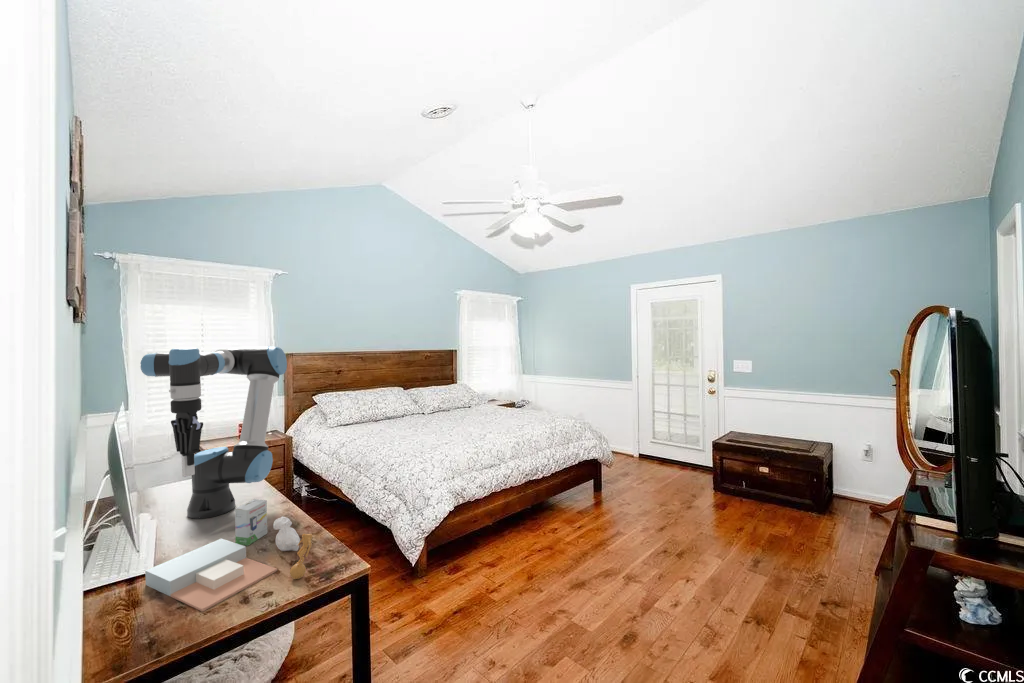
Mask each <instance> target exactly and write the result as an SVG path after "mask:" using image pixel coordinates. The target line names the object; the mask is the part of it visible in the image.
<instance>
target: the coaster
mask: <svg viewBox="0 0 1024 683" xmlns="http://www.w3.org/2000/svg"><path fill="white" fill-rule="evenodd" d="M243 574H244V566H243V565H241V564H238V563H235V562H232V561H230V560H227V559H225V560H223V561H221V562H219V563H217V564H214V565H212V566H210V567H208V568H206V569H204V570H202V571H199V572H197V573H196V582H197V583H199V584H201V585H204V586H206V587H209V588H211V589H213V590H214V589H216V588H218V587H220V586H222V585H224V584H226V583H228V582H230V581H232V580H234V579H236V578H238V577H240V576H241V575H243Z"/></svg>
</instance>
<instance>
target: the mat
mask: <svg viewBox="0 0 1024 683" xmlns="http://www.w3.org/2000/svg"><path fill="white" fill-rule="evenodd" d="M236 563H238V564H241V565H243V566H244V574H243V575H241V576H240V577H238V578H236V579H234V580H232V581H230V582H228V583H226V584H224V585H222V586H220V587H218V588H216V589H214V590H213V589H211V588H209V587H206V586H204V585H201V584H199V583H197V582H195V583H193V584H191V585H189V586H187V587H185V588H183V589H181V590H178V591H176V592H174V593H172V594H170V595H171V598H172V599H175V600H177V601H179V602H182V603H183V604H185V605H188V606H190V607H192V608H193V609H195V610H198V611H200V612H204V611H206V610H208V609H210V608H212V607H214V606H216V605H217V604H219V603H221V602H222V601H225V600H226V599H229V598H230V597H232V596H235V595H236V594H237V593H239V592H241V591H243V590H245V589H247V588H249V587H250V586H252V585H255V584H256V583H258V582H259V581H262V580H263V579H265V578H267V577H268V576H271V575H272V574H274V573H276V572H278V568H276V567H274V566H271V565H268V564H264V563H261V562H259V561H256V560H253V559H252V558H248V557H246V558H245V559H243V560H241V561H238V562H236Z"/></svg>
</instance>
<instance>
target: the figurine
mask: <svg viewBox="0 0 1024 683" xmlns="http://www.w3.org/2000/svg"><path fill="white" fill-rule="evenodd" d="M301 538H302V539H300V542H299V544H298V545H299V546H300V545H301V543H302V546H301V547H300V548H299V549H298V550H297V551H296V552H297V554H296V555H297V556H298V557H299V560H298V561H296V563H294V564H293V565H292V566H291V567H290V570H289V575H290V577H291V579H293V580H299V579H301V578H303V577H304V576H305V574H306V571H307V570H306V566H305V564H303V563H304V561H305V557H306V558H308V556H309V552H310V550H311V548H312V539H313V534H312V533H303V534H302V535H301ZM304 556H305V557H304Z"/></svg>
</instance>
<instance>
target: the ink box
mask: <svg viewBox="0 0 1024 683" xmlns="http://www.w3.org/2000/svg"><path fill="white" fill-rule="evenodd" d="M267 502H268V501H267V500H266V499H259V498H254V499H251V500H249V501H247V502H245V503H243V504H241V505H239V506H237V507H235V509H234V513H235V514H234V523H235V524H234V525H235V527H234V528H235V530H234V531H235V534H234V535H235V538H234V539H235V542H234V543H237V544H240V545H243V546H245V547H246V546H250V545H252V544H253V543H255V542H256V541H258V540H259V539H261V538H263V536H266V535H267V534H268V508H267V506H268V505H267V504H268V503H267Z"/></svg>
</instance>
